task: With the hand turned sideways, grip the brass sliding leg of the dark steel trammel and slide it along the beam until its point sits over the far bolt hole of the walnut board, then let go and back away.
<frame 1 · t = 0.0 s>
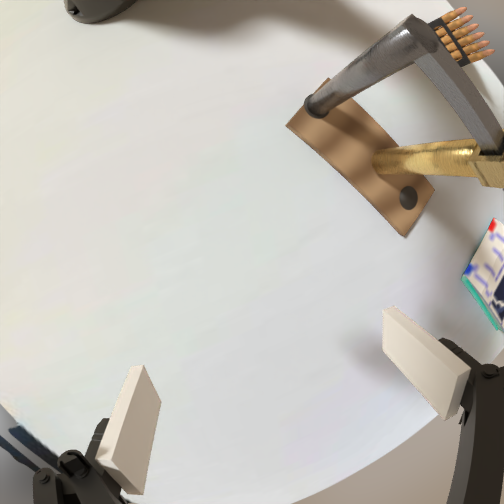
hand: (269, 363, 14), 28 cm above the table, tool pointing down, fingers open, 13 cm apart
ammunition clip: (442, 46, 36), on the table
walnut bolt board: (367, 158, 40), on the table
toy car: (496, 280, 50), on the table
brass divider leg: (432, 158, 26), point 15 cm above the table, slide at 1.0 cm
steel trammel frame: (422, 152, 27), on the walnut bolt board, point 14 cm above the table
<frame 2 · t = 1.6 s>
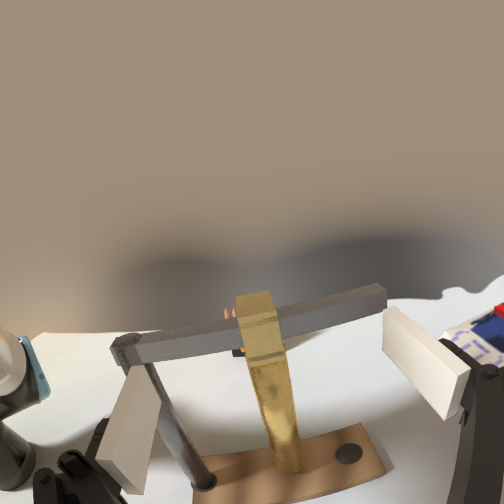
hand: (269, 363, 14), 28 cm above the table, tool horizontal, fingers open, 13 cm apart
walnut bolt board: (285, 475, 31), on the table
toy car: (496, 351, 40), on the table
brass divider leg: (277, 409, 27), point 15 cm above the table, slide at 1.0 cm
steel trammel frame: (269, 417, 27), on the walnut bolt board, point 14 cm above the table
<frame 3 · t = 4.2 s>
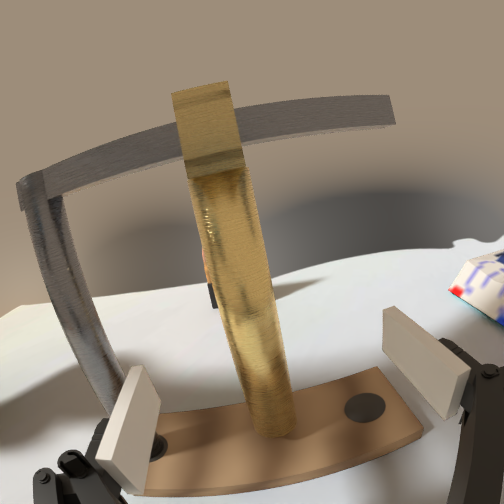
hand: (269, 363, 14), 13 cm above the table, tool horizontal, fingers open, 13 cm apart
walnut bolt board: (269, 444, 22), on the table
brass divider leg: (245, 299, 18), point 15 cm above the table, slide at 1.0 cm
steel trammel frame: (233, 316, 19), on the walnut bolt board, point 14 cm above the table
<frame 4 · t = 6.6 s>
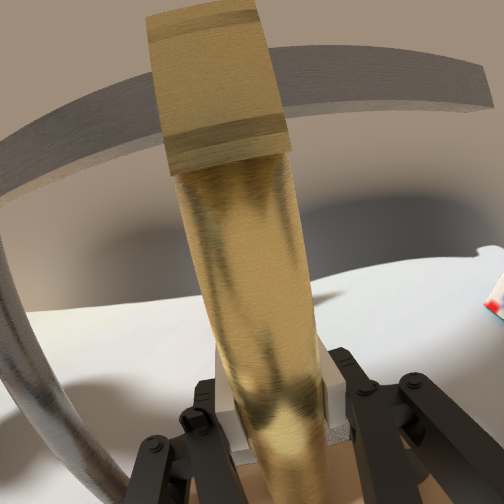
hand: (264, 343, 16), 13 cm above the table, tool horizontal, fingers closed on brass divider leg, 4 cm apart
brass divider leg: (274, 375, 11), point 15 cm above the table, slide at 1.0 cm, touching gripper
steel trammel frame: (255, 397, 11), on the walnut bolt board, point 14 cm above the table
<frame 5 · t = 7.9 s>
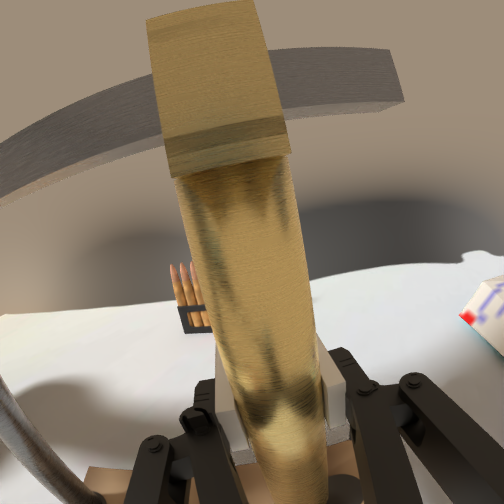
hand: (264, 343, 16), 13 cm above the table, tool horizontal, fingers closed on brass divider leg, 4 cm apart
ammunition clip: (215, 330, 47), on the table
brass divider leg: (274, 375, 11), point 15 cm above the table, slide at 6.4 cm, touching gripper
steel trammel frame: (135, 412, 11), on the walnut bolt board, point 14 cm above the table
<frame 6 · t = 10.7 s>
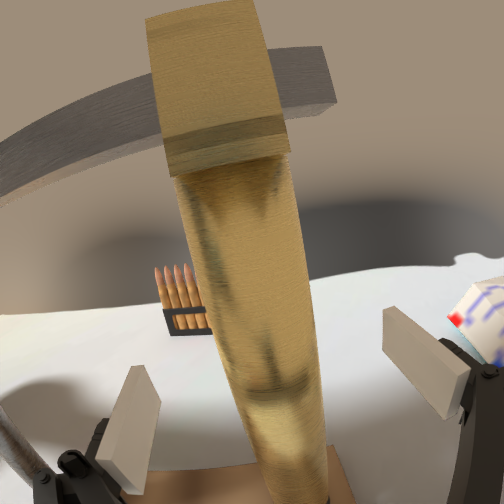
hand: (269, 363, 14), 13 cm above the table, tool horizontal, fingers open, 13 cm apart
ammunition clip: (200, 333, 46), on the table
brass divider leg: (274, 375, 11), point 15 cm above the table, slide at 9.0 cm
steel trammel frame: (90, 412, 11), on the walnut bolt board, point 14 cm above the table
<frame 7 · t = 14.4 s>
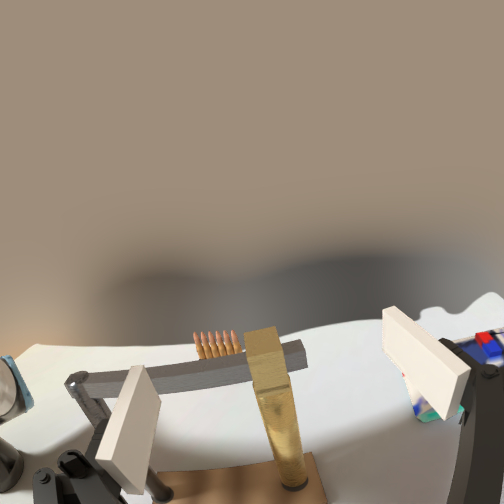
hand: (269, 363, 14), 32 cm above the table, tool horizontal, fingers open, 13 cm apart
ammunition clip: (226, 374, 64), on the table
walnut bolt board: (235, 495, 31), on the table
toy car: (473, 379, 40), on the table
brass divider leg: (282, 430, 28), point 15 cm above the table, slide at 9.0 cm
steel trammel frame: (207, 447, 28), on the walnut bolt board, point 14 cm above the table
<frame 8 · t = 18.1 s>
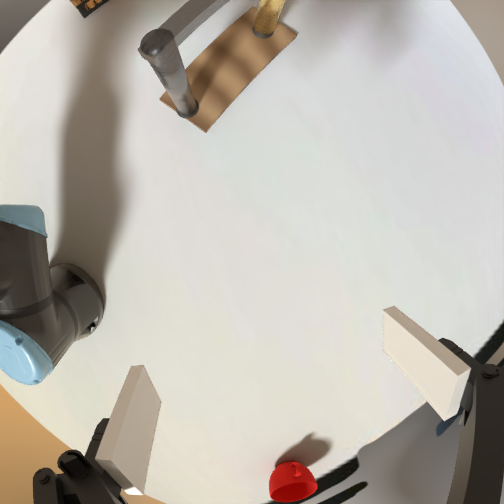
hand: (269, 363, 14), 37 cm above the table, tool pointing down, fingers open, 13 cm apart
ammunition clip: (104, 1, 36), on the table
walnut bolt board: (230, 64, 43), on the table
ceramic cup: (288, 462, 66), on the table
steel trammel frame: (233, 27, 29), on the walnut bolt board, point 14 cm above the table
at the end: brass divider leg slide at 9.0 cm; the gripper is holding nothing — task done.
